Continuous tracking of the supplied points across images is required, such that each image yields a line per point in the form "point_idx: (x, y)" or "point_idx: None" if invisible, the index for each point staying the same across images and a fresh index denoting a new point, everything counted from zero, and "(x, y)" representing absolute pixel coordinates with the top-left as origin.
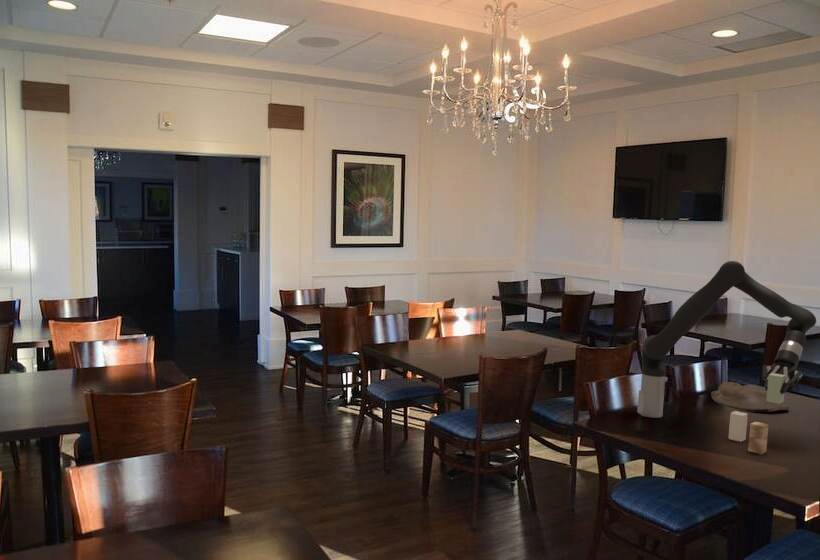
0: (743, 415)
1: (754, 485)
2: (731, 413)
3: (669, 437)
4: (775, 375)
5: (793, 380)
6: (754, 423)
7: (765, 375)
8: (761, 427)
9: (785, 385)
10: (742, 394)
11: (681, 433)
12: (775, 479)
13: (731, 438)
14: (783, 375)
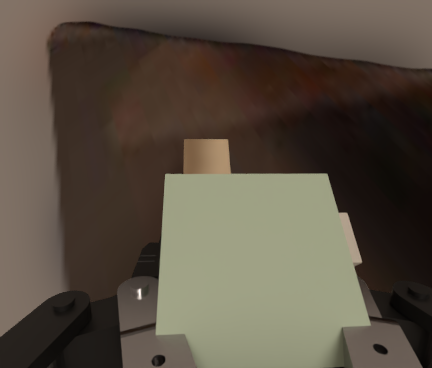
0: None
1: (136, 38)
2: (342, 213)
3: (376, 138)
4: (250, 187)
5: (36, 319)
6: (221, 151)
7: (415, 300)
8: (191, 141)
9: (144, 274)
10: None
11: (393, 186)
12: (116, 76)
13: None
14: (180, 301)
